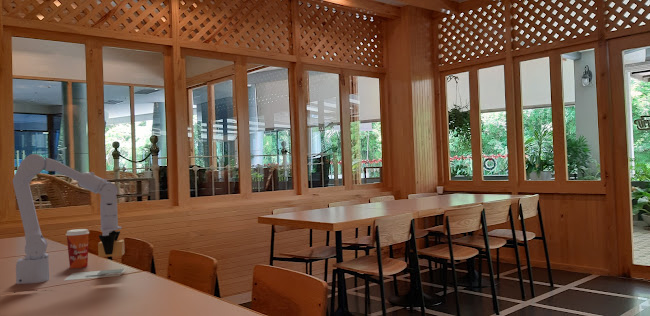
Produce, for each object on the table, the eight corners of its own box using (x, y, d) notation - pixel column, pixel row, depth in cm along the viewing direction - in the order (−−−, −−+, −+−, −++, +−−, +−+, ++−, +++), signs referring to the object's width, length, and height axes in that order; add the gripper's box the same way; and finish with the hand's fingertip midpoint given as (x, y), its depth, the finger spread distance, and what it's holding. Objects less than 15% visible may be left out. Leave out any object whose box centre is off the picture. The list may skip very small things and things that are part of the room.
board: (63, 283, 173) (63, 280, 173) (73, 275, 185) (73, 272, 185) (119, 278, 177) (119, 275, 177) (125, 271, 188) (125, 268, 188)
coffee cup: (70, 272, 190) (69, 232, 191) (64, 269, 197) (63, 230, 197) (93, 268, 196) (92, 229, 196) (87, 265, 202) (86, 228, 202)
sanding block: (98, 257, 181) (98, 243, 182) (101, 254, 186) (101, 241, 186) (122, 255, 183) (121, 241, 183) (124, 253, 188) (124, 239, 188)
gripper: (116, 216, 178) (118, 255, 178) (124, 212, 193) (125, 248, 193) (95, 218, 177) (96, 257, 177) (104, 213, 191) (105, 250, 191)
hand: (110, 252), depth 185 cm, fingers closed on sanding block, 5 cm apart
